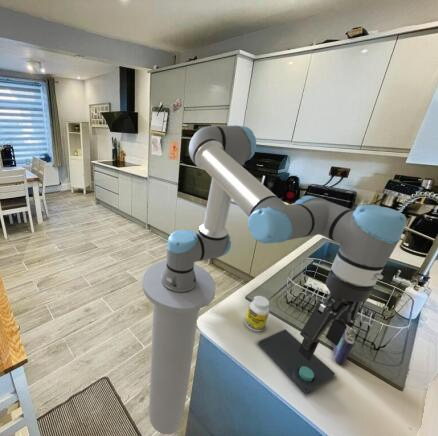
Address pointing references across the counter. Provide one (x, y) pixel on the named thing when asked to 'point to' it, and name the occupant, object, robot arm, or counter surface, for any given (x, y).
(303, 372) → the scale button
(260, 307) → the pill bottle
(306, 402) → the counter surface
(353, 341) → the flask
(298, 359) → the scale
